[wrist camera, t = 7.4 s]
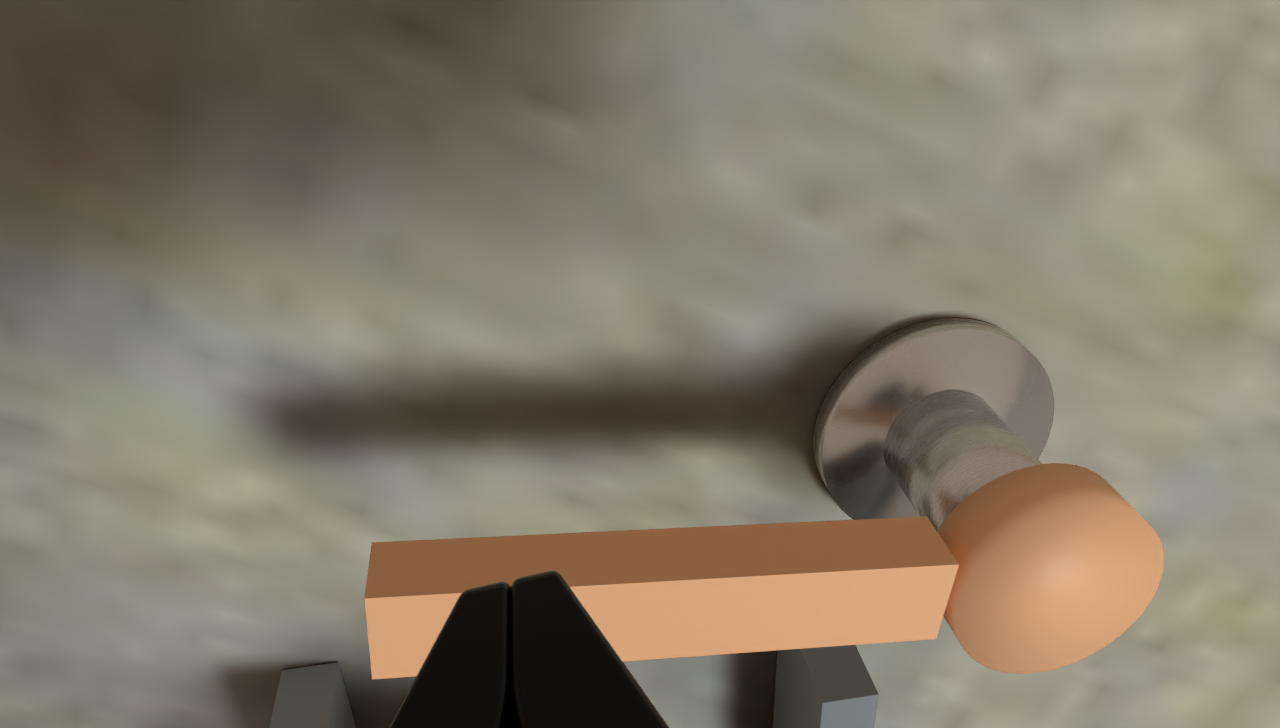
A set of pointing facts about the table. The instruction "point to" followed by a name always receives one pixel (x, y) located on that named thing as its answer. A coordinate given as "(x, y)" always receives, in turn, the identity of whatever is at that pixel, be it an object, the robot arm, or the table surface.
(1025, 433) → the post
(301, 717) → the holder
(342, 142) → the table surface
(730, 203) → the table surface
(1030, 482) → the lever
